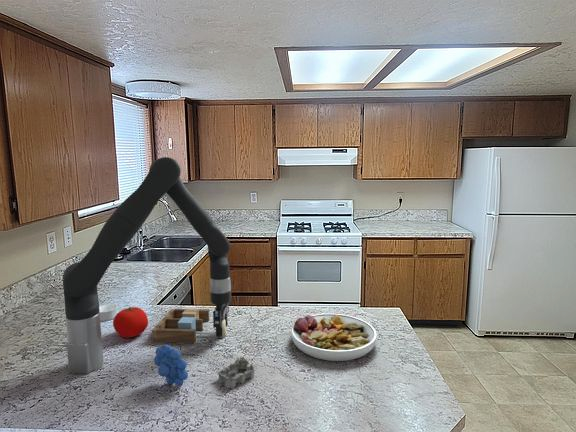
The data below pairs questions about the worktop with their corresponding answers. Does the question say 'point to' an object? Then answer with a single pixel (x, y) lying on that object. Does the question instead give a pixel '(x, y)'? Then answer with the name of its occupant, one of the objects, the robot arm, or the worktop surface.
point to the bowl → (333, 336)
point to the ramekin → (107, 312)
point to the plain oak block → (191, 313)
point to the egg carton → (232, 371)
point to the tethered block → (191, 324)
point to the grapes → (171, 365)
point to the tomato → (130, 322)
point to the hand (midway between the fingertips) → (222, 331)
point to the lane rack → (169, 327)
